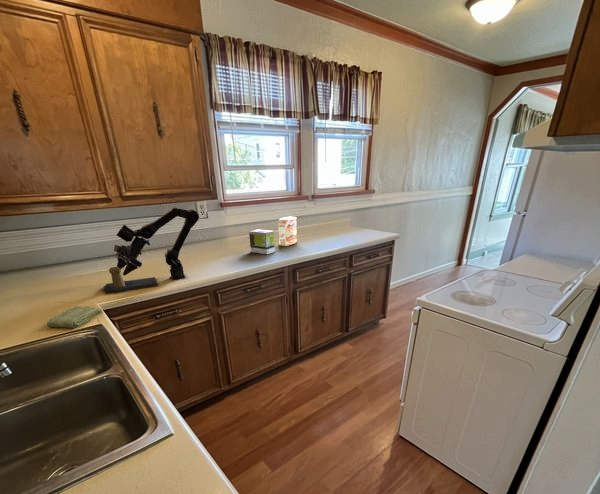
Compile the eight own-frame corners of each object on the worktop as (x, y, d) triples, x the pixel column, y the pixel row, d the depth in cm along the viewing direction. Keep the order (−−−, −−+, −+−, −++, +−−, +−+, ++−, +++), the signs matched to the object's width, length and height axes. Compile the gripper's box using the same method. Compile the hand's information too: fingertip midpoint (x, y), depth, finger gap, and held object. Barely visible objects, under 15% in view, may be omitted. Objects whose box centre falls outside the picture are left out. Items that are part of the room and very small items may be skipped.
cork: (121, 290, 165) (115, 269, 160) (110, 289, 166) (104, 268, 161) (128, 286, 171) (123, 265, 165) (118, 285, 172) (113, 265, 167)
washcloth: (104, 311, 142) (102, 304, 141) (76, 329, 127) (73, 322, 125) (76, 310, 143) (73, 303, 142) (44, 328, 128) (41, 321, 126)
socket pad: (155, 279, 181) (154, 276, 180) (157, 286, 170) (157, 283, 169) (104, 286, 171) (103, 283, 171) (103, 294, 160) (102, 291, 160)
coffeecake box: (286, 246, 248) (285, 219, 239) (278, 245, 252) (277, 218, 243) (297, 242, 260) (296, 216, 250) (289, 241, 263) (289, 216, 254)
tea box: (275, 251, 233) (274, 230, 226) (266, 254, 226) (265, 233, 219) (259, 249, 241) (257, 228, 234) (250, 252, 233) (248, 231, 226)
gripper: (114, 235, 167) (98, 261, 166) (129, 240, 156) (111, 268, 154) (133, 248, 176) (118, 272, 174) (149, 254, 165) (132, 280, 163)
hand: (119, 273), depth 166 cm, fingers open, 9 cm apart
